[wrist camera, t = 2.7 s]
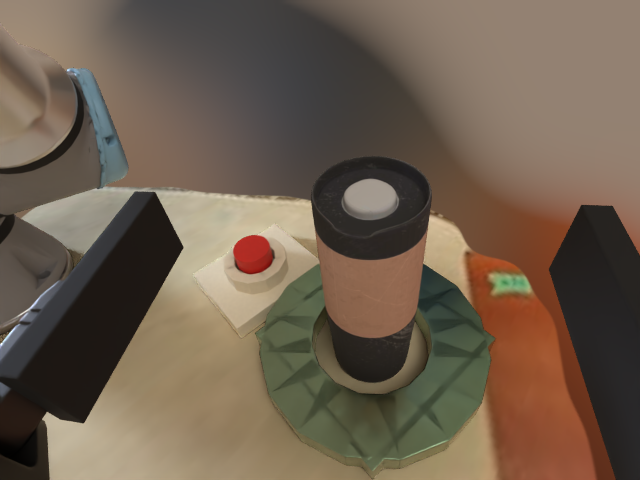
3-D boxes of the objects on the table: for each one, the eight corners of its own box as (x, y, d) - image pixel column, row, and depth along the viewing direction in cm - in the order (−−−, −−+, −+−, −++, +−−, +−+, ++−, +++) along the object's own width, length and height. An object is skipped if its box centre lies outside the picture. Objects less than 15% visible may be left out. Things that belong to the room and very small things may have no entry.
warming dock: (227, 344, 40) (220, 332, 38) (369, 241, 48) (369, 227, 46) (373, 535, 27) (373, 529, 26) (528, 352, 36) (536, 339, 34)
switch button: (231, 260, 43) (226, 248, 41) (260, 242, 45) (256, 229, 43) (250, 280, 41) (245, 268, 39) (280, 260, 42) (276, 247, 41)
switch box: (197, 284, 46) (186, 262, 43) (277, 233, 50) (272, 211, 48) (241, 338, 40) (231, 318, 37) (327, 275, 45) (324, 252, 42)
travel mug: (384, 304, 41) (391, 142, 27) (426, 364, 36) (461, 203, 22) (320, 333, 39) (291, 176, 25) (354, 400, 34) (341, 250, 20)
